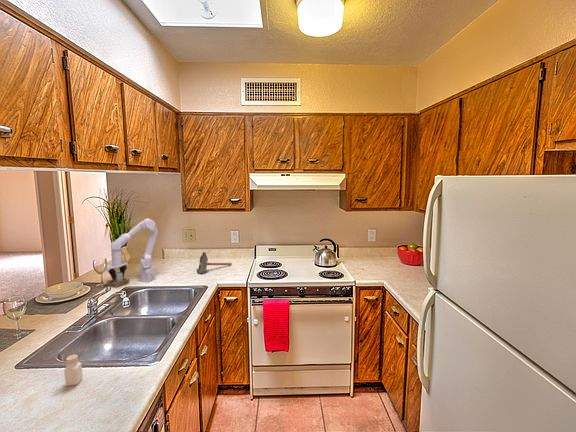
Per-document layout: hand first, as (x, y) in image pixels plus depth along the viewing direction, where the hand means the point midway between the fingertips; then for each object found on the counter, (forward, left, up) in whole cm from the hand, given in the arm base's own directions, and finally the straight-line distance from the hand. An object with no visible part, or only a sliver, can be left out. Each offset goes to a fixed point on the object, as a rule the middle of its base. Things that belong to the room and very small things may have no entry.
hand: (118, 278), depth 199 cm
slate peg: (0, 0, -4) cm, 4 cm away
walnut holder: (0, 0, -4) cm, 4 cm away
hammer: (-39, -55, -5) cm, 68 cm away
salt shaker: (-78, +72, -5) cm, 106 cm away
